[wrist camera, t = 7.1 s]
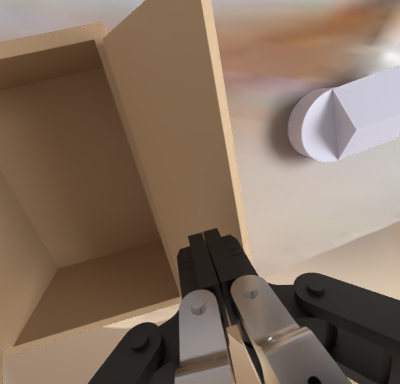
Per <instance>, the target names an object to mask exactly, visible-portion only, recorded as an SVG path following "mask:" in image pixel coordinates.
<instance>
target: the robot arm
mask: <svg viewBox="0 0 400 384" xmlns="http://www.w3.org/2000/svg"><path fill="white" fill-rule="evenodd" d="M203 235H204V237H203ZM188 239H189V244H190V246H188V247H185V248H181V249H180V250H179V252H178V255H177V264H178V271H179V280H180V287H181V295H182V301H181V303H180V306H179V310H178V312H177V313H176V314H175V315H174V316H173V317H172V318H171V319H169V320H168V321H166V322H165V323H163V324H162V325H160V326H159V327H158V326H157V325H156V324H154V323H151V322H145V323H141V324H138V325H136V326H135V327H133V328H132V329H131V330H129V331H128V332H127V334H126V335H125V336H124V337H123V339H122V340H121V341H120V342H119V344H118V345H117V346H116V348H115V349H114V350H113V352H112V353H111V354H110V355H109V357H108V358H107V359H106V361H105V362H104V364H103V365H102V366H101V367H100V368H99V370H98V371H97V372H96V374H95V375H94V376H93V378H92V379H91V380H90V382H89V383H88V384H237V383H236V377H235V372H234V368H233V363H232V359H231V354H230V349H229V338H228V334H227V330H226V328H227V327H230V326H229V322H228V318H229V321H230V324H231V326H233V325H236V324H237V327H238V329H239V332H240V336H241V340H242V344H243V347H244V349H245V351H246V353H247V356H248V358H249V360H250V363H251V365H252V367H253V370H254V372H255V374H256V376H257V379H258V381H259V383H260V384H352V383H351V382H350V381H349V380H348V378H350V379H352V380H353V381H355V382H357V383H359V384H400V300H397V299H394V298H391V297H388V296H385V295H382V294H379V293H376V292H373V291H370V290H367V289H364V288H361V287H358V286H355V285H352V284H349V283H346V282H343V281H340V280H337V279H334V278H331V277H328V276H325V275H322V274H318V273H305V274H302V275H300V276H299V277H297V278H296V280H295V281H294V285H274V284H270V283H267V282H266V281H265V280H264V279H263V278H261V277H259V276H258V274H257V273H256V271H255V269H254V267H253V266H252V264H251V262H250V260H249V259H248V257H247V255H246V253H245V252H244V250H243V248H242V247H241V245H240V243H239V241H238V240H237V239H236V238H235V237H233V236H232V235H226V236H223V237H221V235H220V233H219V231H218V229H217V228H214V229H210V230H207V231H203V234H202V232H200V233H197V234H193V235H190V236H188ZM204 239H205V240H204ZM225 308H226V309H225ZM226 311H227V313H226ZM227 314H228V318H227ZM347 377H348V378H347Z"/></svg>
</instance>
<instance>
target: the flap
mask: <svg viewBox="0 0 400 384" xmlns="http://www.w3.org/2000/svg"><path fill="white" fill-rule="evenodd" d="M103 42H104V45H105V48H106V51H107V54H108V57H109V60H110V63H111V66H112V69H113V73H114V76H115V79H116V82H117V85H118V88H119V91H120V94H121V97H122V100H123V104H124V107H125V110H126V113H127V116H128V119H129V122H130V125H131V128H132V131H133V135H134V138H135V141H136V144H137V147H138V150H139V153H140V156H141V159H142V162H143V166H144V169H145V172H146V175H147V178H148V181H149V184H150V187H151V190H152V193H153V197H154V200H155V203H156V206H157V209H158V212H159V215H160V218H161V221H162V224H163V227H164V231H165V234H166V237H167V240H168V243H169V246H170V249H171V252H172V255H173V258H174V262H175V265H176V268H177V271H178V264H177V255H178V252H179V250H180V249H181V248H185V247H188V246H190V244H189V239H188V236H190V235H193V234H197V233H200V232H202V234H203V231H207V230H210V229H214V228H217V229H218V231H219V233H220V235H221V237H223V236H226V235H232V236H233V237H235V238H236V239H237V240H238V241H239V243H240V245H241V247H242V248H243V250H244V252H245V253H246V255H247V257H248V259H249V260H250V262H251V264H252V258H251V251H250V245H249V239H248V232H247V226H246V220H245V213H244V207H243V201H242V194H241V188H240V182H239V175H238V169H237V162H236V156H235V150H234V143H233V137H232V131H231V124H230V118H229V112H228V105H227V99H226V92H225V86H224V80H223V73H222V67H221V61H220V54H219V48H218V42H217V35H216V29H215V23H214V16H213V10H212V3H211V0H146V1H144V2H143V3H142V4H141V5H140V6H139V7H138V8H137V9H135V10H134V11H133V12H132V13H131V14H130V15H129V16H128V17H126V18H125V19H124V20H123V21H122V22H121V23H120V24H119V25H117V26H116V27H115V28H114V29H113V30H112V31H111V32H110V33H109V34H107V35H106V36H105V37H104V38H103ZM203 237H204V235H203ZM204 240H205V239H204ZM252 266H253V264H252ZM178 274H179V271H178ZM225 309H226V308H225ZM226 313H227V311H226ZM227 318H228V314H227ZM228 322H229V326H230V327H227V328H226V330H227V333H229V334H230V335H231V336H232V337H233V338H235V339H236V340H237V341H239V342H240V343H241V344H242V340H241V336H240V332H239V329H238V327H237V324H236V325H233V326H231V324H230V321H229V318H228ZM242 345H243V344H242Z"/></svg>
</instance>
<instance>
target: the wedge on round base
mask: <svg viewBox="0 0 400 384" xmlns="http://www.w3.org/2000/svg"><path fill="white" fill-rule="evenodd" d="M399 135H400V66H399V65H397V66H394V67H392V68H389V69H386V70H383V71H381V72H378V73H375V74H372V75H370V76H367V77H364V78H361V79H358V80H356V81H353V82H350V83H347V84H345V85H342V86H339V87H334V88H321V89H316V90H314V91H311V92H309V93H308V94H306V95H305V96H304V97H302V98H301V99H300V100H299V102H298V103H297V104H296V105H295V107H294V109H293V110H292V113H291V115H290V118H289V122H288V137H289V141H290V143H291V145H292V146H293V148H294V149H295V150H296V151H297V152H298V153H300V154H302V155H304V156H307V157H310V158H312V159H315V160H318V161H321V162H333V161H337V160H340V159H342V158H345V157H348V156H350V155H353V154H356V153H358V152H361V151H364V150H366V149H369V148H372V147H374V146H377V145H380V144H382V143H385V142H388V141H390V140H393V139H396V138H397V137H398V136H399Z"/></svg>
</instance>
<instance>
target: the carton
mask: <svg viewBox="0 0 400 384" xmlns="http://www.w3.org/2000/svg"><path fill="white" fill-rule="evenodd" d="M109 33H110V32H109V31H108V29H107V28H106V27H105V25H104V24H103V22H99V23H94V24H89V25H84V26H79V27H74V28H70V29H65V30H60V31H55V32H50V33H45V34H40V35H35V36H30V37H26V38H21V39H16V40H11V41H6V42H1V43H0V345H1V346H2V348H3V349H4V350H5V351H6V352H7V354H9V355H10V354H13V353H16V352H19V351H23V350H26V349H29V348H33V347H36V346H40V345H43V344H46V343H49V342H53V341H56V340H59V339H63V338H66V337H69V336H73V335H76V334H79V333H83V332H86V331H89V330H92V329H95V328H99V327H102V326H106V325H109V324H112V323H116V322H119V321H122V320H125V319H129V318H132V317H135V316H139V315H142V314H145V313H149V312H152V311H155V310H158V309H162V308H165V307H168V306H172V305H175V304H178V303H181V301H182V295H181V287H180V280H179V274H178V271H177V268H176V265H175V262H174V258H173V255H172V252H171V249H170V246H169V243H168V240H167V237H166V234H165V231H164V227H163V224H162V221H161V218H160V215H159V212H158V209H157V206H156V203H155V200H154V197H153V193H152V190H151V187H150V184H149V181H148V178H147V175H146V172H145V169H144V166H143V162H142V159H141V156H140V153H139V150H138V147H137V144H136V141H135V138H134V135H133V131H132V128H131V125H130V122H129V119H128V116H127V113H126V110H125V107H124V104H123V100H122V97H121V94H120V91H119V88H118V85H117V82H116V79H115V76H114V73H113V69H112V66H111V63H110V60H109V57H108V54H107V51H106V48H105V45H104V42H103V38H104V37H105V36H106V35H107V34H109Z"/></svg>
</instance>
